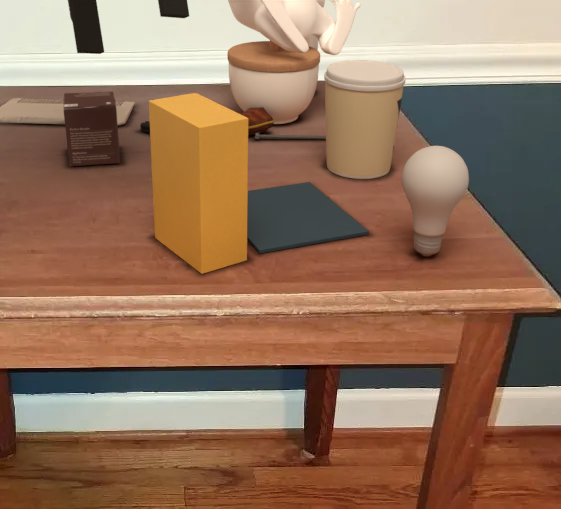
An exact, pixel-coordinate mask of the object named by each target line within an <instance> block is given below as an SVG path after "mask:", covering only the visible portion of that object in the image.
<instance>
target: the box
mask: <svg viewBox="0 0 561 509" xmlns="http://www.w3.org/2000/svg"><path fill="white" fill-rule="evenodd" d="M114 94H115V93H114V91H97V92H95V91H93V92H69V93H67V92H65V93H63V101H64V120H65V124H64V127H65V134H66V135H65V136H66V137H65V138H66V147H67V157H68V163H69V166H70V167H78V166H93V165H94V166H95V165H109V164H120V162H121V154H120V140H119V128H118V126H119V125H117V110H116V103H117V102H116V98H115V95H114Z"/></svg>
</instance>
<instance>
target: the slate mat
mask: <svg viewBox="0 0 561 509" xmlns="http://www.w3.org/2000/svg"><path fill="white" fill-rule="evenodd" d="M369 233H370V232H369V230H368V229H367V228H366V227H365V226H363V225H362V224H361V223H360V222H358V221H357V220H356V219H355V218H354V217H352V216H351V215H350V214H349V213H348V212H347V211H345V210H344V209H343V208H341V207H340V206H339V204H337V203H336V202H334V201H333V199H331V198H329V197H328V196H327V195H326V194H325V193H324V192H322V191H321V190H320V189H319V188H317V187H316V186H315V185H314V184H313V183H311V182H310V181H307V182H300V183H293V184H292V183H291V184H286V185H285V184H284V185H279V186H273V187H272V186H271V187H264V188H259V189H249V190H248V202H247V242H248V243H249V244H250V245H251V246H252V248H254V249H255V251H257V253H258V254H266V253H271V252H277V251H282V250H283V251H284V250H288V249H294V248H300V247H307V246H310V245H317V244H323V243H328V242H333V241H340V240H346V239H351V238H352V239H353V238H357V237H362V236H368V235H370V234H369Z"/></svg>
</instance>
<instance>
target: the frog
mask: <svg viewBox="0 0 561 509" xmlns="http://www.w3.org/2000/svg"><path fill="white" fill-rule="evenodd" d="M329 1H330V3H332V4H333V6H334V9H335V13H336V18H335V19H334V18H333V16H332V15H330V14H329V13H328V12H327V11H326V9H324V7H323V8H322V7H321V6H320V5H319V4H318V3H317V1H316V0H227V2H228V4H229V7H230V10H231V12H232V15H233V17H234V18H235V20H236V21H237V22H238V23H240V24H241V25H243V26H244V27H247V28H249V29H251V30H254V31H256V32H258V33H260V34H261V35H262V36H264V37H265V38H266V39H267V40H268V41H270V40H271V41H272V42H274V43H275V44H277V45H278V46H280V47H281V48H283V49H285V50H287V51H292V52H300V53H306V52H307V51H308V50H309V46H308V44H307V42H306V41H307V40H308V39H309V38H310V36H311V35H315V36H316V37H317V38H318V45H319V47H320V49H321V51H322V52H323V53H325V54H327V55H330V56H337V55H339V54H340V53H341V51H342V50H343V47H344V45H345V43H346V41H347V39H348V37H349V35H350V32H351V30H352V28H353V24H354V21H355V17H356V13H357V11H358V9H360V8H361V2H356V3H355V4H354V7H353V5H352V4H353V3H352V0H329Z"/></svg>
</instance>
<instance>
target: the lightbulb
mask: <svg viewBox="0 0 561 509" xmlns="http://www.w3.org/2000/svg"><path fill="white" fill-rule="evenodd" d="M469 176H470V174H469V170H468V166H467V164H466V162H465V161H464V159H463V157H462V156H461V155H460V154H458V152H456V151H454V150H453V149H451V148H449V147H447V146H443V145H430V146H426V147H425V146H424V147H423V148H421V149H419V150H417V151H416V152H414V153H413V154H412V155H411V156H410V157H409V158H408V159H407V161H406V162H405V165H404V167H403V170H402V173H401V186H402V188H403V192H404V194H405V197H406V199H407V201H408V203H409V205H410V209H411V213H412V229H413V231H414V235H413V237H414V238H413V248H414V250H415V251H416V252H417V253H419V254H420V255H422V256H423V257H431V256H432V255H435V254H437V253H439V252H440V250H441V246H442V241H443V235H444V234H445V233H446V231H447V226H448V222H449V220H450V217H451V214H452V213H453V211H454V210H455V209H456V207H457V206H458V205H459V203H460V202H461V200H463V197H464V196H465V195H466V193H467V190H468V188H469V184H470V183H469V182H470V177H469Z"/></svg>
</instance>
